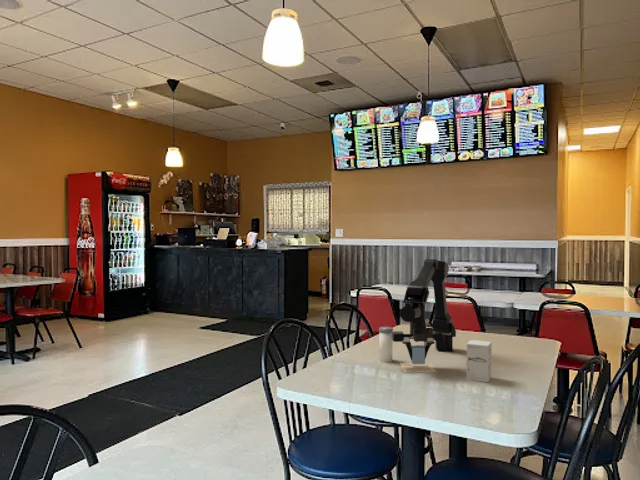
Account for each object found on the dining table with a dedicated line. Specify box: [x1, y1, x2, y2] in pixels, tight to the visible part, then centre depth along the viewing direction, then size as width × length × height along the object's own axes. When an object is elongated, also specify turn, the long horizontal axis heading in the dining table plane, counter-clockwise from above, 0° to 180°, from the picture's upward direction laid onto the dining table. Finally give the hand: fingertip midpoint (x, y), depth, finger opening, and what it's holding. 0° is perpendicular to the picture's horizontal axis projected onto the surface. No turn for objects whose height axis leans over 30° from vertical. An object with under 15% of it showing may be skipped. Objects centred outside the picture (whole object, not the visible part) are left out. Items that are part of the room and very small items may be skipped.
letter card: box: [399, 362, 438, 373], centre depth 182 cm, size 12×12×1 cm
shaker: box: [378, 326, 394, 363], centre depth 193 cm, size 5×5×13 cm
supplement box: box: [466, 339, 493, 383], centre depth 169 cm, size 7×7×13 cm
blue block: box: [410, 344, 426, 364], centre depth 182 cm, size 4×4×6 cm
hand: (417, 359), depth 182 cm, fingers closed on blue block, 4 cm apart
